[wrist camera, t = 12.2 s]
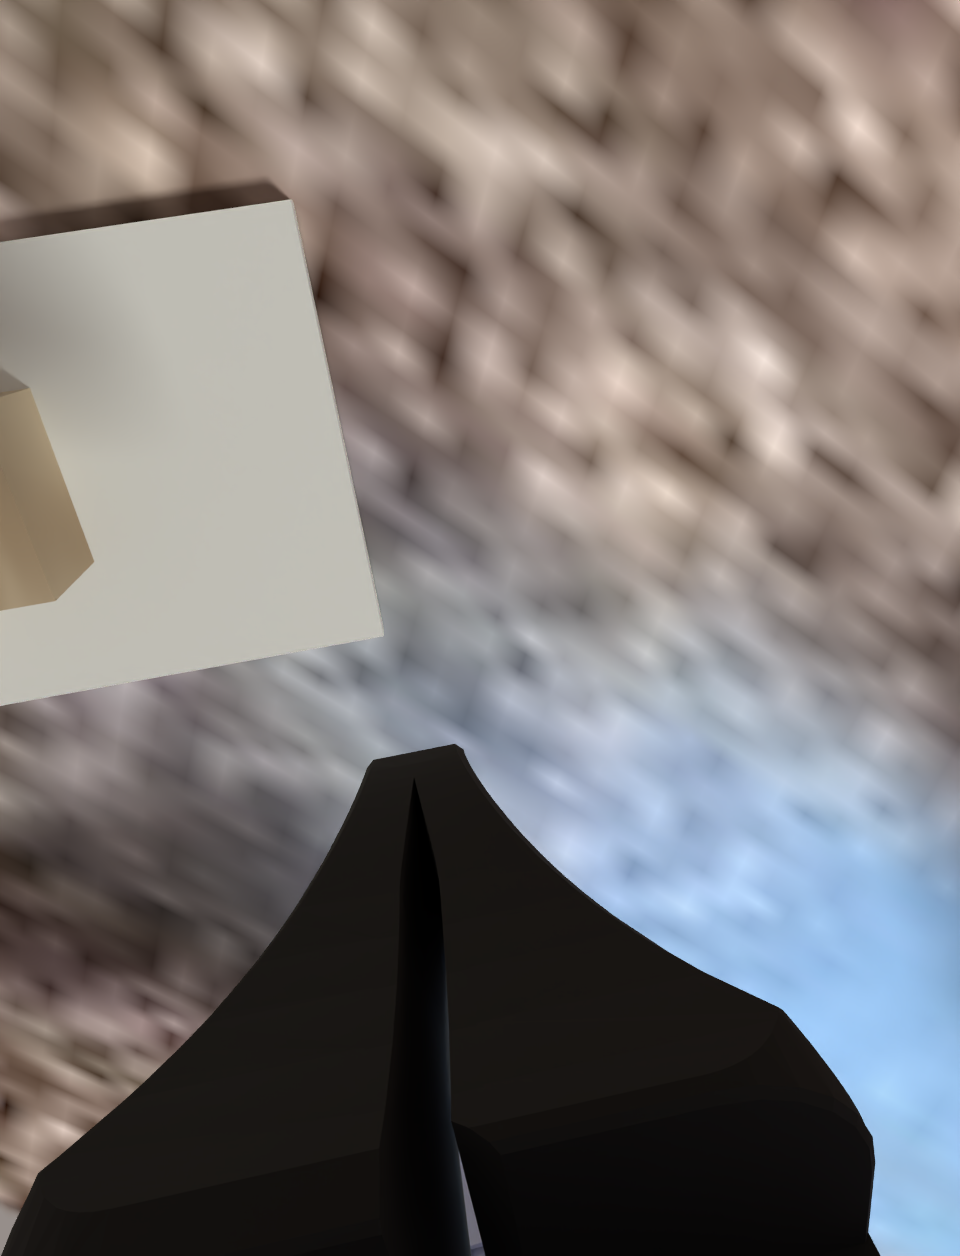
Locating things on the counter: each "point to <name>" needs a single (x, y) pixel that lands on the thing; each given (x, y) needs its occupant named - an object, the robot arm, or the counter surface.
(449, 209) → the counter surface
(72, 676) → the mat
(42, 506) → the green-faced wooden block
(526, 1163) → the robot arm
